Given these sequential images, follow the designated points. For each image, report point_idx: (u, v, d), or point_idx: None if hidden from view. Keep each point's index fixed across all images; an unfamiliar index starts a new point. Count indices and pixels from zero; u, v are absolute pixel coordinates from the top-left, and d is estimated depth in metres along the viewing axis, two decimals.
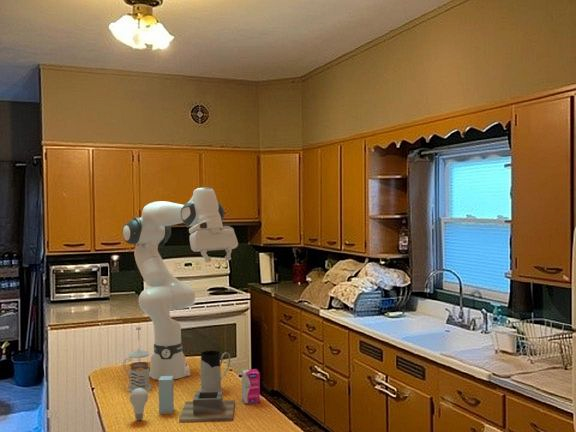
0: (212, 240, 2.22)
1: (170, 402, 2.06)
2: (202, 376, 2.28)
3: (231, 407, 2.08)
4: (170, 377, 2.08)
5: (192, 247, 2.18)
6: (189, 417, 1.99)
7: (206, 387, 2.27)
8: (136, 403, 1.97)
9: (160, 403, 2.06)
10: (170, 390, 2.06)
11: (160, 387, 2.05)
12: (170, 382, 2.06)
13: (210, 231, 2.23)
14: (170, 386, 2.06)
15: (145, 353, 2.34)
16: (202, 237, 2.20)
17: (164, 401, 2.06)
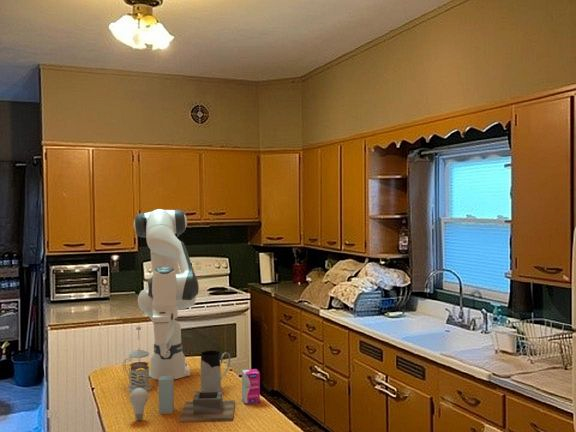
0: (169, 331, 2.05)
1: (170, 402, 2.06)
2: (202, 376, 2.28)
3: (231, 407, 2.08)
4: (170, 377, 2.08)
5: (158, 341, 1.97)
6: (189, 417, 1.99)
7: (206, 387, 2.27)
8: (136, 403, 1.97)
9: (160, 403, 2.06)
10: (170, 390, 2.06)
11: (160, 387, 2.05)
12: (170, 382, 2.06)
13: None
14: (170, 386, 2.06)
15: (145, 353, 2.34)
16: None
17: (164, 401, 2.06)
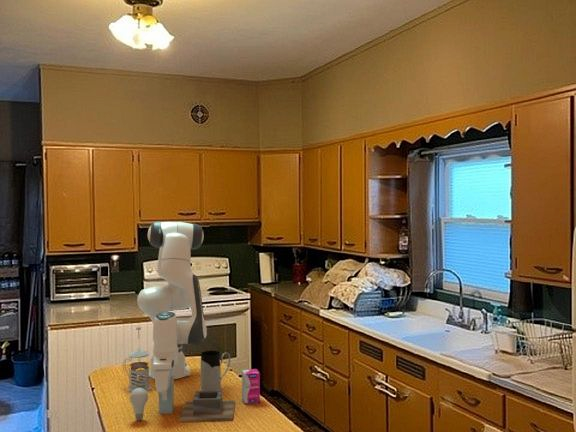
0: (170, 377, 2.06)
1: (170, 402, 2.06)
2: (202, 376, 2.28)
3: (231, 407, 2.08)
4: None
5: (159, 388, 1.98)
6: (189, 417, 1.99)
7: (206, 387, 2.27)
8: (136, 403, 1.97)
9: (160, 403, 2.06)
10: (170, 390, 2.06)
11: None
12: (170, 382, 2.06)
13: None
14: (170, 386, 2.06)
15: (145, 353, 2.34)
16: None
17: (164, 401, 2.06)
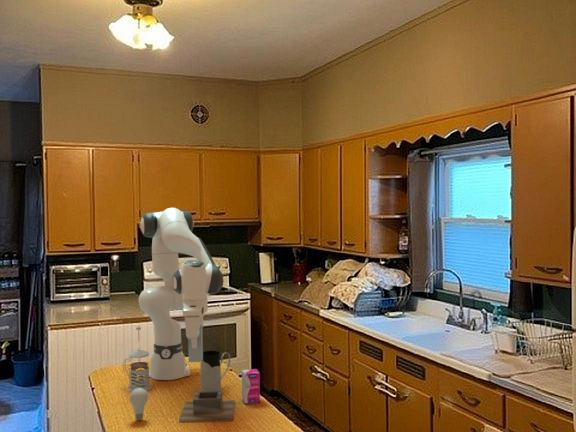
0: (199, 325, 2.04)
1: (199, 350, 2.04)
2: (202, 376, 2.28)
3: (231, 407, 2.08)
4: None
5: (190, 334, 1.96)
6: (189, 417, 1.99)
7: (206, 387, 2.27)
8: (136, 403, 1.97)
9: (190, 351, 2.04)
10: (200, 338, 2.04)
11: None
12: (200, 330, 2.04)
13: None
14: (200, 334, 2.04)
15: (145, 353, 2.34)
16: None
17: (193, 349, 2.04)
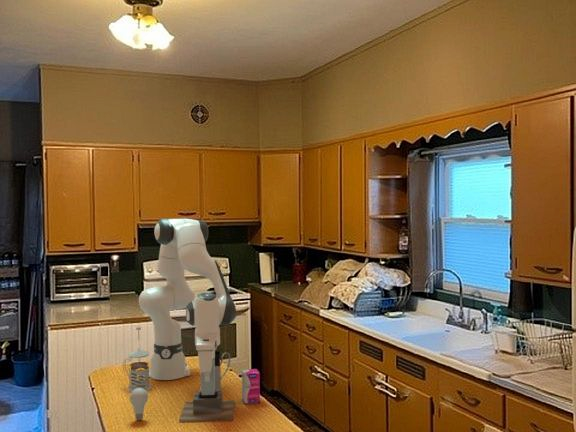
0: (212, 358, 2.04)
1: (212, 383, 2.04)
2: None
3: (231, 407, 2.08)
4: None
5: (203, 369, 1.96)
6: (189, 417, 1.99)
7: None
8: (136, 403, 1.97)
9: (202, 384, 2.04)
10: (212, 371, 2.04)
11: None
12: None
13: None
14: (212, 367, 2.04)
15: (145, 353, 2.34)
16: None
17: (206, 382, 2.04)
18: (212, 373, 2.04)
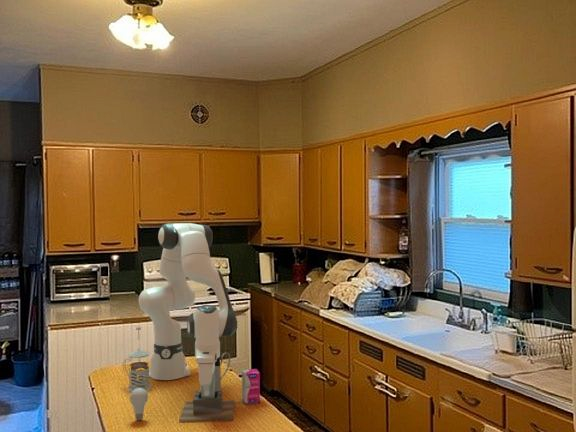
0: (212, 370, 2.04)
1: None
2: None
3: (231, 407, 2.08)
4: None
5: (203, 382, 1.96)
6: (189, 417, 1.99)
7: None
8: (136, 403, 1.97)
9: None
10: (212, 388, 2.05)
11: None
12: (212, 380, 2.04)
13: None
14: (212, 384, 2.04)
15: (145, 353, 2.34)
16: None
17: None
18: (212, 390, 2.05)
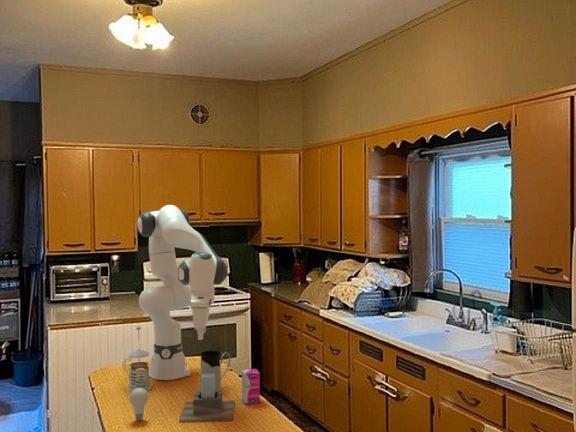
0: (206, 315, 2.08)
1: None
2: None
3: (231, 407, 2.08)
4: (212, 375, 2.07)
5: (197, 325, 2.00)
6: (189, 417, 1.99)
7: None
8: (136, 403, 1.97)
9: None
10: (212, 388, 2.05)
11: (202, 385, 2.04)
12: (212, 380, 2.04)
13: None
14: (212, 384, 2.04)
15: (145, 353, 2.34)
16: None
17: None
18: (212, 390, 2.05)
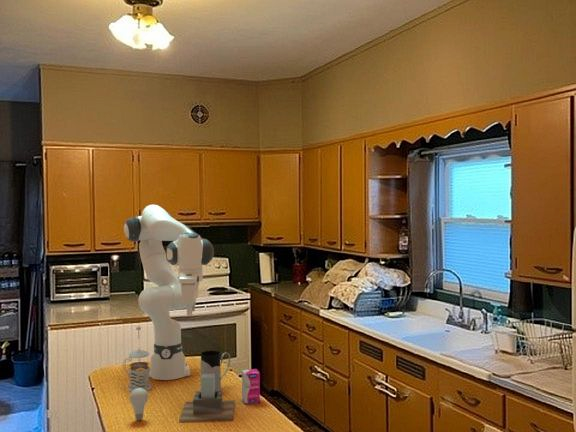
0: (195, 293, 2.16)
1: None
2: None
3: (231, 407, 2.08)
4: (212, 375, 2.07)
5: (186, 301, 2.08)
6: (189, 417, 1.99)
7: None
8: (136, 403, 1.97)
9: None
10: (212, 388, 2.05)
11: (202, 385, 2.04)
12: (212, 380, 2.04)
13: None
14: (212, 384, 2.04)
15: (145, 353, 2.34)
16: None
17: None
18: (212, 390, 2.05)
